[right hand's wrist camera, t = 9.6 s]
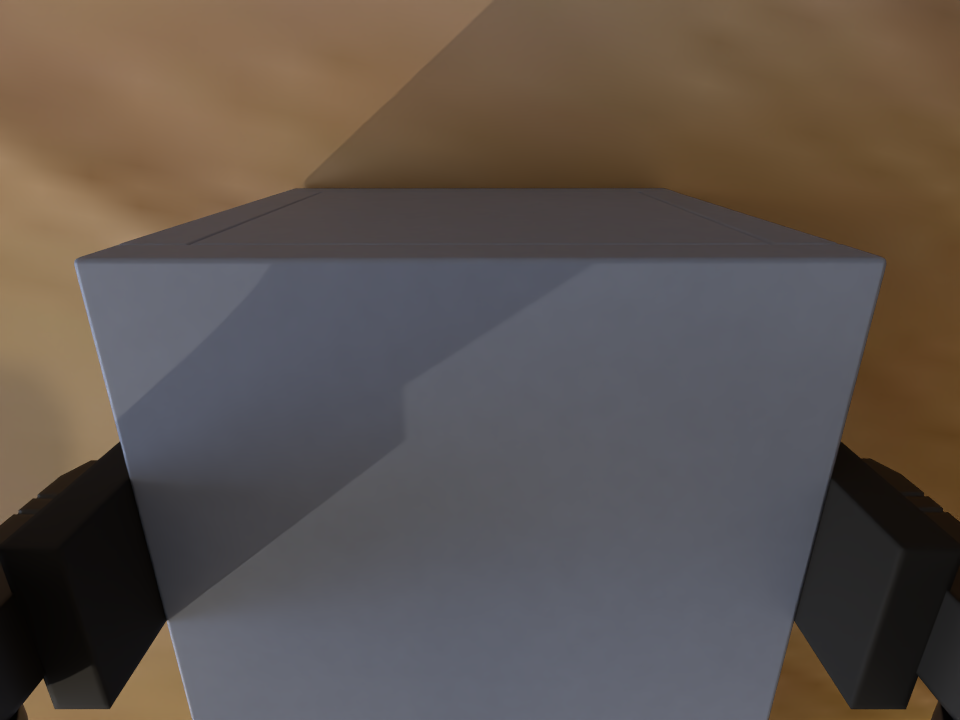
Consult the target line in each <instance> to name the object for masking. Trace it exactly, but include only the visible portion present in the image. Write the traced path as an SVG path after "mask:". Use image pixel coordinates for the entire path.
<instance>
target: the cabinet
mask: <svg viewBox="0 0 960 720" xmlns="http://www.w3.org/2000/svg"><path fill="white" fill-rule="evenodd" d="M74 265H75V269H76V273H77V277H78V281H79V285H80V288H81V292H82V296H83V300H84V304H85V308H86V312H87V315H88V319H89V323H90V327H91V331H92V335H93V338H94V342H95V346H96V350H97V354H98V358H99V362H100V365H101V369H102V373H103V377H104V381H105V385H106V389H107V392H108V396H109V400H110V404H111V408H112V412H113V416H114V419H115V423H116V427H117V431H118V435H119V439H120V443H121V446H122V450H123V454H124V458H125V462H126V466H127V469H128V473H129V477H130V481H131V485H132V489H133V493H134V496H135V500H136V504H137V508H138V512H139V516H140V520H141V523H142V527H143V531H144V535H145V539H146V543H147V547H148V550H149V554H150V558H151V562H152V566H153V570H154V574H155V577H156V581H157V585H158V589H159V593H160V597H161V600H162V604H163V608H164V612H165V616H166V620H167V624H168V627H169V631H170V635H171V639H172V643H173V647H174V651H175V654H176V658H177V662H178V666H179V670H180V674H181V678H182V681H183V685H184V689H185V693H186V697H187V701H188V705H189V708H190V712H191V716H192V720H768V719H769V715H770V712H771V708H772V704H773V700H774V696H775V692H776V688H777V685H778V681H779V677H780V673H781V669H782V665H783V661H784V658H785V654H786V650H787V646H788V642H789V638H790V634H791V630H792V627H793V623H794V619H795V615H796V611H797V607H798V603H799V600H800V596H801V592H802V588H803V584H804V580H805V576H806V573H807V569H808V565H809V561H810V557H811V553H812V549H813V546H814V542H815V538H816V534H817V530H818V526H819V522H820V518H821V515H822V511H823V507H824V503H825V499H826V495H827V491H828V488H829V484H830V480H831V476H832V472H833V468H834V464H835V461H836V457H837V453H838V449H839V445H840V441H841V437H842V434H843V430H844V426H845V422H846V418H847V414H848V410H849V406H850V403H851V399H852V395H853V391H854V387H855V383H856V379H857V376H858V372H859V368H860V364H861V360H862V356H863V352H864V349H865V345H866V341H867V337H868V333H869V329H870V325H871V322H872V318H873V314H874V310H875V306H876V302H877V298H878V295H879V291H880V287H881V283H882V279H883V275H884V271H885V267H886V260H885V258H883V257H880V256H877V255H874V254H871V253H868V252H864V251H861V250H858V249H855V248H852V247H849V246H845V245H842V244H837V243H835V242H832V241H829V240H826V239H823V238H819V237H816V236H813V235H810V234H807V233H804V232H800V231H797V230H794V229H791V228H788V227H785V226H781V225H778V224H775V223H772V222H769V221H766V220H762V219H759V218H756V217H753V216H750V215H747V214H743V213H740V212H737V211H734V210H731V209H727V208H724V207H721V206H718V205H715V204H712V203H708V202H705V201H702V200H699V199H696V198H693V197H689V196H686V195H683V194H680V193H677V192H674V191H671V190H668V189H665V188H295V189H292V190H289V191H286V192H282V193H279V194H276V195H273V196H270V197H267V198H263V199H260V200H257V201H254V202H251V203H248V204H245V205H241V206H238V207H235V208H232V209H229V210H226V211H222V212H219V213H216V214H213V215H210V216H207V217H203V218H200V219H197V220H194V221H191V222H188V223H184V224H181V225H178V226H175V227H172V228H169V229H165V230H162V231H159V232H156V233H153V234H150V235H147V236H143V237H140V238H137V239H134V240H131V241H128V242H124V243H122V244H120V245H117V246H114V247H111V248H107V249H104V250H101V251H98V252H95V253H92V254H88V255H85V256H82V257H79V258H77V259H76V260H75V263H74Z"/></svg>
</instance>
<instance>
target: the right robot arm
mask: <svg viewBox="0 0 960 720" xmlns="http://www.w3.org/2000/svg"><path fill="white" fill-rule="evenodd" d="M166 621H167V620H166V616H165V612H164V608H163V604H162V600H161V597H160V593H159V589H158V585H157V581H156V577H155V574H154V570H153V566H152V562H151V558H150V554H149V550H148V547H147V543H146V539H145V535H144V531H143V527H142V523H141V520H140V516H139V512H138V508H137V504H136V500H135V496H134V493H133V489H132V485H131V481H130V477H129V473H128V469H127V466H126V462H125V458H124V454H123V450H122V446H121V443H120V442H119V443H118V444H116V445H115V446H114V447H113V448H112V449H111V450H109V451H108V452H107V453H106V454H105V455H104V456H102V457H101V458H100V459H99V460H91V461H89V462H87V463H85V464H83V465H81V466H79V467H77V468H75V469H73V470H71V471H70V472H68V473H66V474H64V475H62V476H60V477H59V478H58V479H56V480H55V481H54V482H53V483H51V484H50V485H49V486H48V487H47V488H45V489H44V490H43V491H42V492H40V493H39V494H38V497H37V499H32V500H31V501H29V502H28V503H27V504H26V505H25V506H23V507H22V508H21V509H20V510H19V513H18V514H14V515H12V516H11V517H10V518H9V519H7V520H6V521H5V522H4V523H3V524H1V525H0V720H28V716H27V713H26V710H25V708H24V705H23V703H24V702H25V700H26V699H27V698H28V697H29V695H30V694H31V693H32V692H33V690H34V689H35V688H36V687H37V685H38V684H39V683H40V682H41V680H42V679H43V678H44V681H45V684H46V686H47V689H48V692H49V694H50V697H51V700H52V703H53V705H54V708H55V709H110V708H111V706H112V705H113V703H114V701H115V700H116V698H117V697H118V695H119V694H120V692H121V691H122V689H123V687H124V686H125V684H126V683H127V681H128V680H129V678H130V677H131V675H132V673H133V672H134V670H135V669H136V667H137V666H138V664H139V663H140V661H141V659H142V658H143V656H144V655H145V653H146V652H147V650H148V649H149V647H150V645H151V644H152V642H153V641H154V639H155V638H156V636H157V635H158V633H159V631H160V630H161V628H162V627H163V625H164V624H165V622H166ZM794 621H795V623H796V624H797V626H798V627H799V629H800V630H801V632H802V634H803V635H804V637H805V638H806V640H807V641H808V643H809V644H810V646H811V648H812V649H813V651H814V652H815V654H816V655H817V657H818V658H819V660H820V662H821V663H822V665H823V666H824V668H825V669H826V671H827V672H828V674H829V676H830V677H831V679H832V680H833V682H834V683H835V685H836V686H837V688H838V690H839V691H840V693H841V694H842V696H843V697H844V699H845V700H846V702H847V704H848V705H849V707H850V708H851V709H906V707H907V705H908V702H909V699H910V697H911V694H912V691H913V689H914V686H915V683H916V681H917V678H918V676H919V677H920V679H921V680H922V681H923V682H924V684H925V685H926V686H927V687H928V689H929V690H930V691H931V692H932V694H933V695H934V696H935V697H936V699H937V700H938V703H937V705H936V708H935V710H934V713H933V715H932V718H931V720H960V522H959V521H958V520H957V519H956V518H954V517H953V516H952V515H951V514H949V513H948V512H943V508H942V507H941V506H940V505H938V504H937V503H936V502H935V501H933V500H932V499H931V498H930V497H928V496H924V492H922V491H921V490H920V489H919V488H917V487H916V486H915V485H914V484H912V483H911V482H910V481H909V480H908V479H906V478H905V477H904V476H903V475H901V474H900V473H898V472H896V471H894V470H892V469H890V468H888V467H886V466H884V465H882V464H880V463H878V462H876V461H874V460H872V459H861V458H859V457H858V456H857V455H856V454H855V453H854V452H852V451H851V450H850V449H849V448H848V447H847V446H845V445H844V444H843V443H842V442H841V441H840V445H839V449H838V453H837V457H836V461H835V464H834V468H833V472H832V476H831V480H830V484H829V488H828V491H827V495H826V499H825V503H824V507H823V511H822V515H821V518H820V522H819V526H818V530H817V534H816V538H815V542H814V546H813V549H812V553H811V557H810V561H809V565H808V569H807V573H806V576H805V580H804V584H803V588H802V592H801V596H800V600H799V603H798V607H797V611H796V615H795V619H794Z"/></svg>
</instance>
